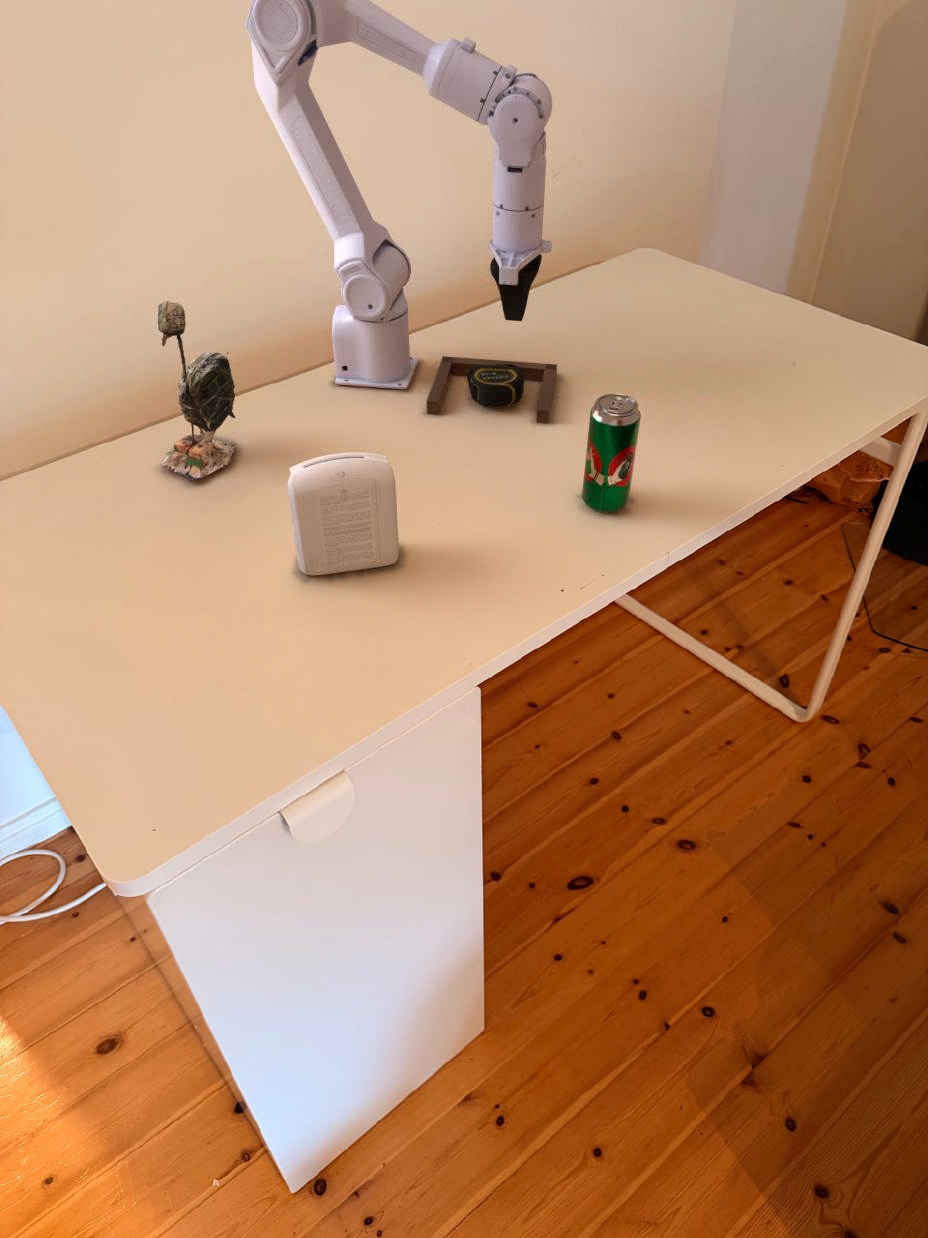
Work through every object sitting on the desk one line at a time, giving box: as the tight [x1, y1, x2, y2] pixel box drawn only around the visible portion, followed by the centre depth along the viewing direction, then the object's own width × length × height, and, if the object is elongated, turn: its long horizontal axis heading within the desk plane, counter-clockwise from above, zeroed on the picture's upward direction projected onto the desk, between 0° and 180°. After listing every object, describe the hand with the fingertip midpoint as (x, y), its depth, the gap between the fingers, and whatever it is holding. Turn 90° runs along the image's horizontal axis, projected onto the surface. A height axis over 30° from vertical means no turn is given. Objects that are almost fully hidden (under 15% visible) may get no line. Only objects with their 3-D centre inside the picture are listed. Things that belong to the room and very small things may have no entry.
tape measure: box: [466, 364, 525, 409], centre depth 116 cm, size 7×7×4 cm
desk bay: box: [426, 355, 558, 424], centre depth 117 cm, size 15×12×2 cm
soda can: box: [581, 392, 642, 514], centre depth 97 cm, size 5×5×12 cm
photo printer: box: [286, 452, 400, 576], centre depth 90 cm, size 10×4×12 cm, turn 103°
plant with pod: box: [157, 300, 237, 482], centre depth 101 cm, size 8×11×20 cm
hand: (514, 318), depth 113 cm, fingers closed
